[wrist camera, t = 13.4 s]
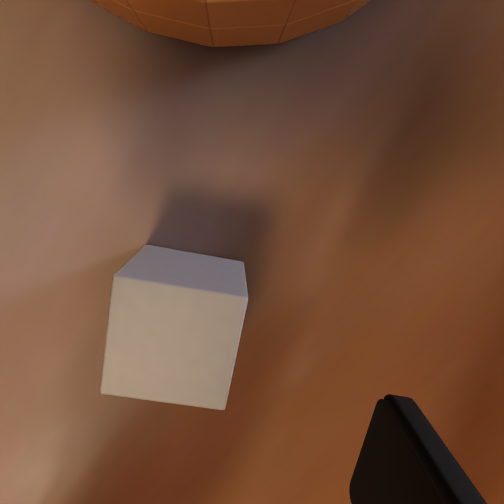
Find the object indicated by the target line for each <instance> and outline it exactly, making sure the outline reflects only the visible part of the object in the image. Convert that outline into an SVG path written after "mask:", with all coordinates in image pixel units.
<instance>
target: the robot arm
mask: <svg viewBox="0 0 504 504" xmlns="http://www.w3.org/2000/svg"><path fill="white" fill-rule="evenodd" d="M349 490H350V499H351V503H352V504H487V503H486V502H485V500H484V499H483V498H482V496H481V495H480V493H479V492H478V490H477V489H476V488H475V486H474V485H473V483H472V482H471V481H470V479H469V478H468V476H467V475H466V474H465V472H464V471H463V469H462V468H461V466H460V465H459V464H458V462H457V461H456V459H455V458H454V457H453V455H452V454H451V452H450V451H449V450H448V448H447V447H446V445H445V444H444V442H443V441H442V440H441V438H440V437H439V435H438V434H437V433H436V431H435V430H434V428H433V427H432V426H431V424H430V423H429V421H428V420H427V418H426V417H425V416H424V414H423V413H422V411H421V410H420V409H419V407H418V406H417V404H416V403H415V402H414V400H413V399H411V398H408V397H402V396H396V395H390V394H388V395H386V396H385V397H384V399H380V400H378V402H377V404H376V407H375V410H374V413H373V416H372V419H371V422H370V425H369V428H368V431H367V434H366V437H365V440H364V443H363V446H362V449H361V452H360V455H359V458H358V461H357V464H356V467H355V470H354V473H353V476H352V479H351V482H350V489H349Z"/></svg>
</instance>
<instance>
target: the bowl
mask: <svg viewBox="0 0 504 504" xmlns="http://www.w3.org/2000/svg"><path fill="white" fill-rule="evenodd" d="M90 1H91V2H93V3H95V4H97V5H99V6H100V7H102V8H104V9H106V10H108V11H110V12H111V13H113V14H115V15H117V16H119V17H121V18H122V19H124V20H126V21H128V22H130V23H131V24H133V25H135V26H137V27H139V28H141V29H142V30H146V31H148V32H151V33H156V34H160V35H164V36H168V37H172V38H176V39H181V40H185V41H189V42H193V43H197V44H202V45H206V46H210V47H211V46H212V45H213V46H214V47H225V46H244V45H263V44H277V43H283V42H286V41H288V40H291V39H294V38H297V37H300V36H302V35H305V34H308V33H311V32H314V31H316V30H319V29H322V28H325V27H328V26H330V25H333V24H336V23H339V22H341V21H342V20H344V19H346V18H347V17H348V16H350V15H351V14H353V13H354V12H355V11H357V10H358V9H360V8H361V7H362V6H364V5H365V4H367V3H368V2H369V1H371V0H90Z"/></svg>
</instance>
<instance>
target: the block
mask: <svg viewBox="0 0 504 504" xmlns="http://www.w3.org/2000/svg"><path fill="white" fill-rule="evenodd" d="M247 302H248V293H247V284H246V276H245V268H244V262H242V261H237V260H231V259H225V258H220V257H214V256H209V255H203V254H197V253H192V252H186V251H180V250H175V249H169V248H163V247H158V246H152V245H145V246H144V247H142V248H141V249H140V250H139V251H138V252H137V253H136V254H135V255H134V256H133V257H132V258H131V259H130V260H129V261H128V262H127V263H126V264H125V265H123V266H122V267H121V268H120V269H119V270H118V271H117V272H116V273H115V274H114V275H113V279H112V288H111V297H110V306H109V315H108V323H107V332H106V341H105V350H104V359H103V368H102V377H101V385H100V393H101V394H105V395H113V396H120V397H128V398H135V399H143V400H151V401H158V402H166V403H173V404H181V405H188V406H196V407H203V408H211V409H218V410H224V409H225V407H226V403H227V398H228V393H229V388H230V384H231V379H232V374H233V369H234V364H235V360H236V355H237V350H238V345H239V341H240V336H241V331H242V326H243V322H244V317H245V312H246V307H247Z"/></svg>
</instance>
